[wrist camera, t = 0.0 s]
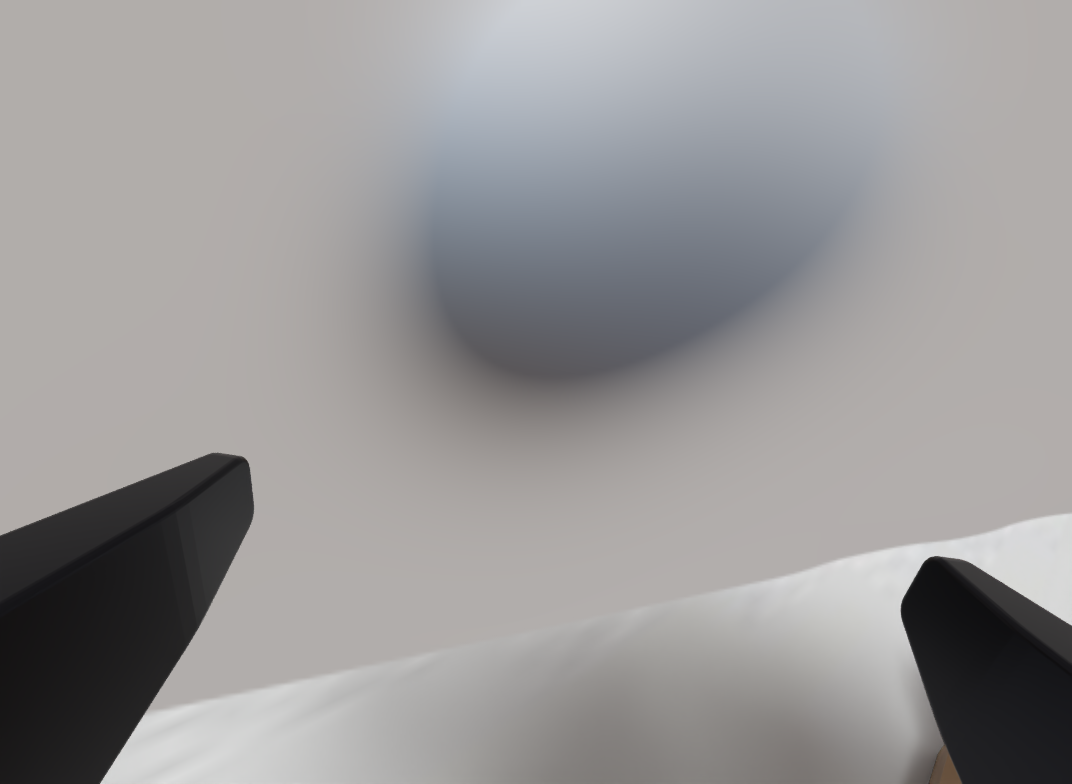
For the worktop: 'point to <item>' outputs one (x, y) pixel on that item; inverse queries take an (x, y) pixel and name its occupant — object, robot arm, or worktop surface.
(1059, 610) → the worktop surface
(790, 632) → the worktop surface
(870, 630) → the worktop surface
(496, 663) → the worktop surface
